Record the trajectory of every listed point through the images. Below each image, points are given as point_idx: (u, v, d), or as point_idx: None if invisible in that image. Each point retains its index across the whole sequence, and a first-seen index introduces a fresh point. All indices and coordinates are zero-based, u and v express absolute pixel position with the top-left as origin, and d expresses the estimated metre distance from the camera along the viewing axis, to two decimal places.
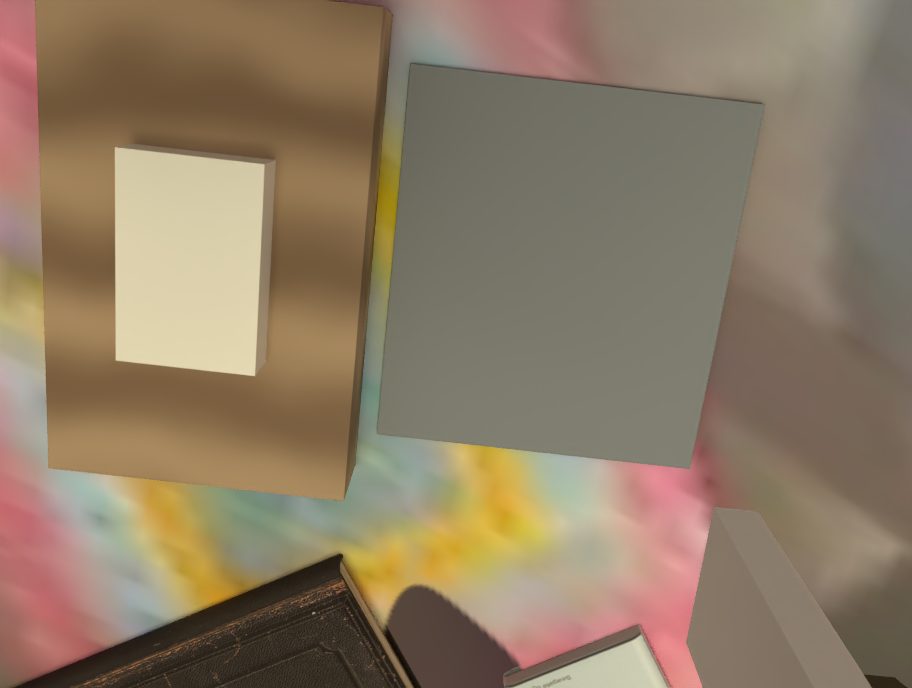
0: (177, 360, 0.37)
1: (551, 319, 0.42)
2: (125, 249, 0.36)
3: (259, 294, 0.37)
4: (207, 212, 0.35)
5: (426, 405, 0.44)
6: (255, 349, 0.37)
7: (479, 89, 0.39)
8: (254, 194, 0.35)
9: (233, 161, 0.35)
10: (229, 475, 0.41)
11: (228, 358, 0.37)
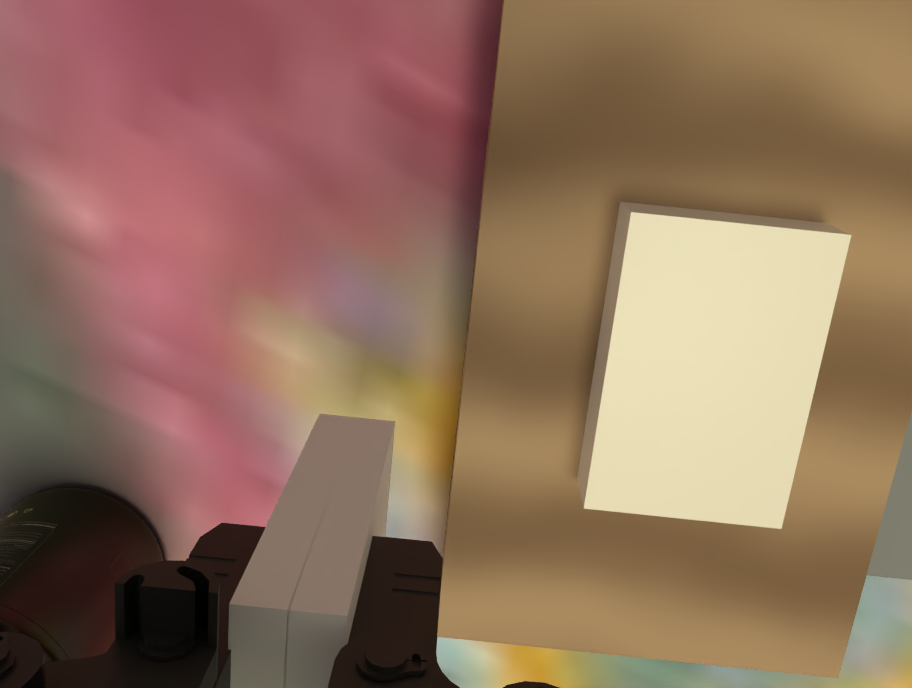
0: (672, 508, 0.26)
1: None
2: (622, 356, 0.25)
3: (804, 417, 0.25)
4: (753, 304, 0.24)
5: None
6: (788, 493, 0.26)
7: None
8: (828, 278, 0.24)
9: (804, 231, 0.24)
10: (684, 645, 0.30)
11: (747, 505, 0.26)
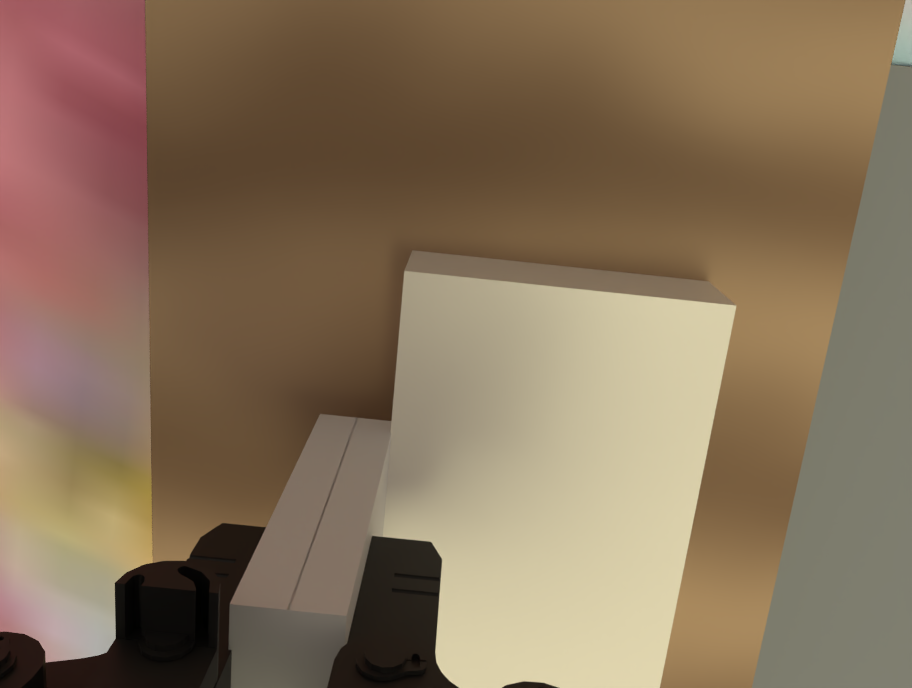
0: None
1: None
2: (408, 480, 0.17)
3: (680, 565, 0.17)
4: (595, 406, 0.16)
5: (817, 672, 0.24)
6: (661, 671, 0.18)
7: None
8: (704, 368, 0.16)
9: (666, 299, 0.16)
10: None
11: None
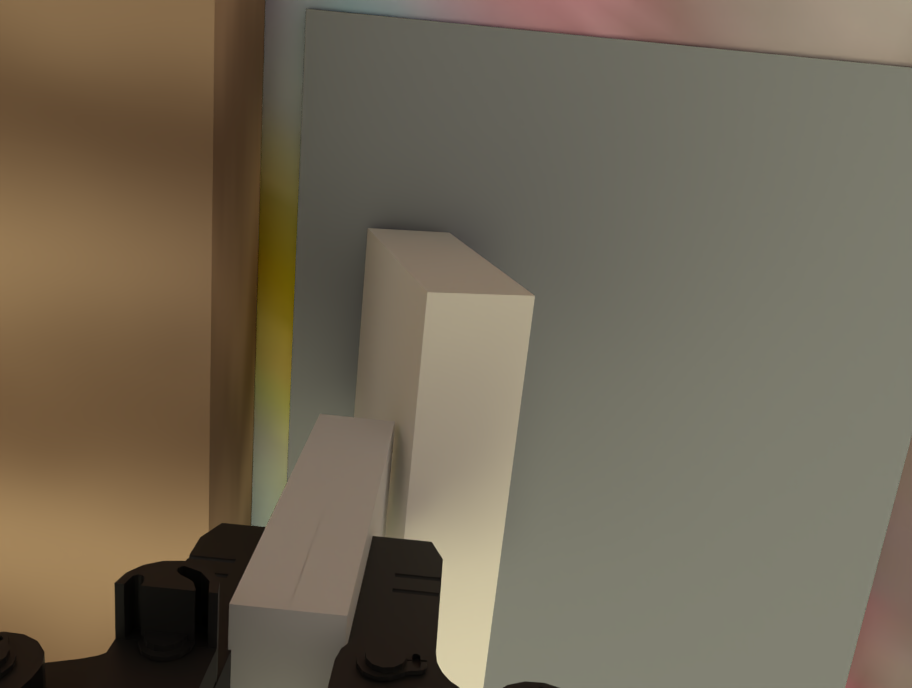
0: None
1: (587, 482, 0.23)
2: None
3: None
4: None
5: None
6: None
7: (444, 58, 0.20)
8: None
9: None
10: None
11: None
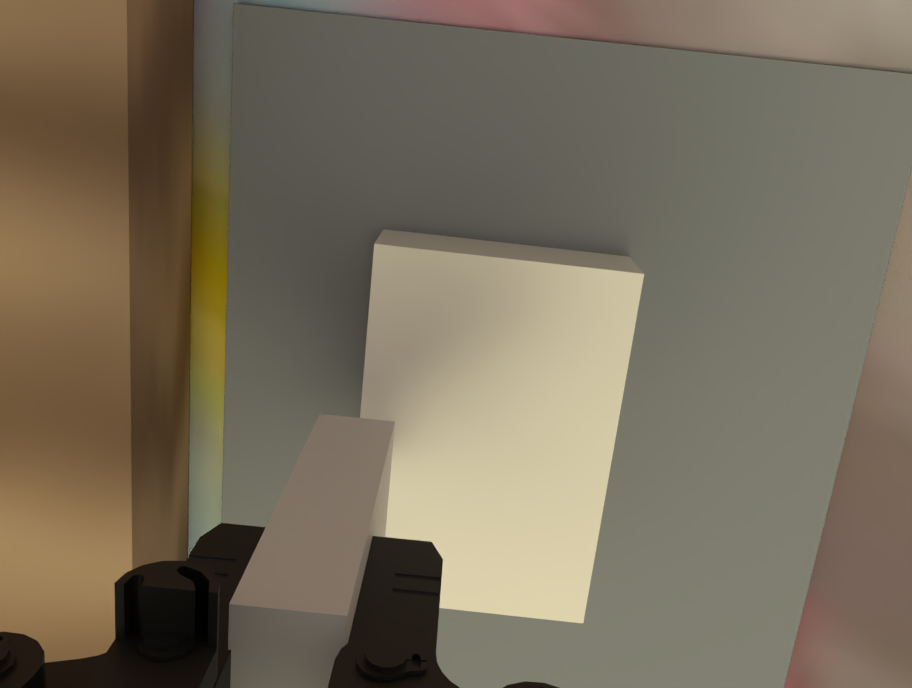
0: None
1: None
2: None
3: None
4: None
5: None
6: None
7: (373, 54, 0.20)
8: None
9: (434, 236, 0.21)
10: None
11: None
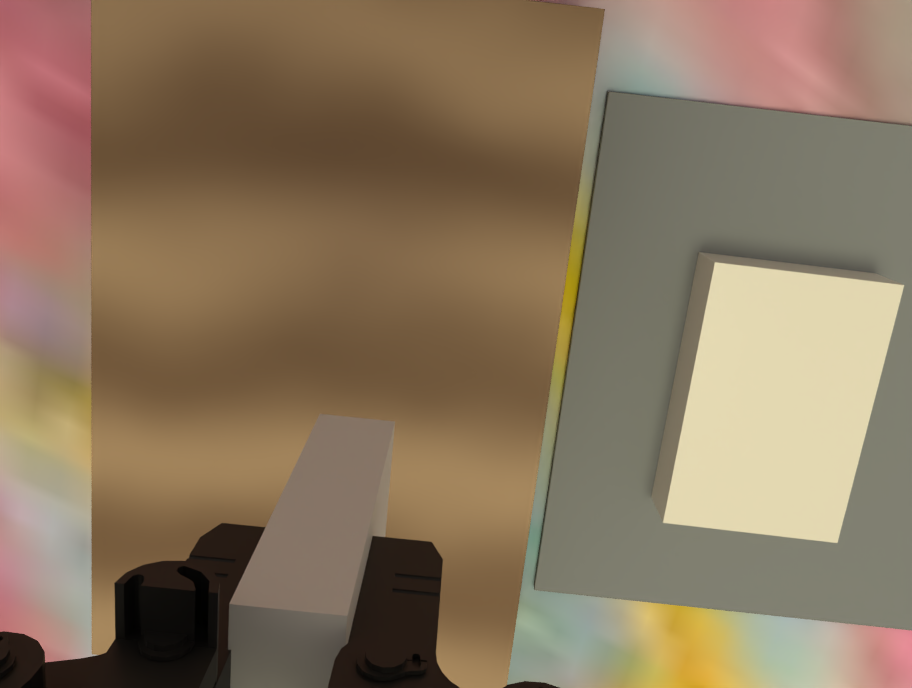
0: None
1: None
2: None
3: (670, 407, 0.30)
4: None
5: (604, 552, 0.32)
6: (658, 467, 0.31)
7: (704, 127, 0.28)
8: None
9: (735, 257, 0.29)
10: None
11: None
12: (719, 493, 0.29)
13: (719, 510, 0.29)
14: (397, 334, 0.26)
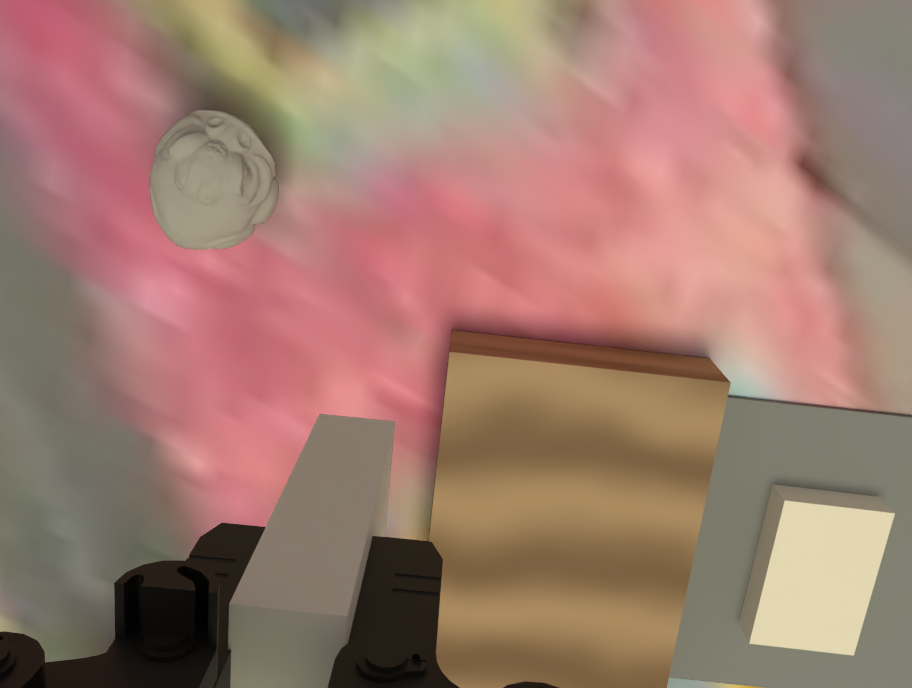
0: None
1: None
2: None
3: (752, 571, 0.50)
4: None
5: (708, 655, 0.52)
6: (743, 605, 0.51)
7: (778, 416, 0.48)
8: None
9: (794, 487, 0.49)
10: None
11: None
12: (783, 627, 0.49)
13: (783, 637, 0.49)
14: (604, 547, 0.46)
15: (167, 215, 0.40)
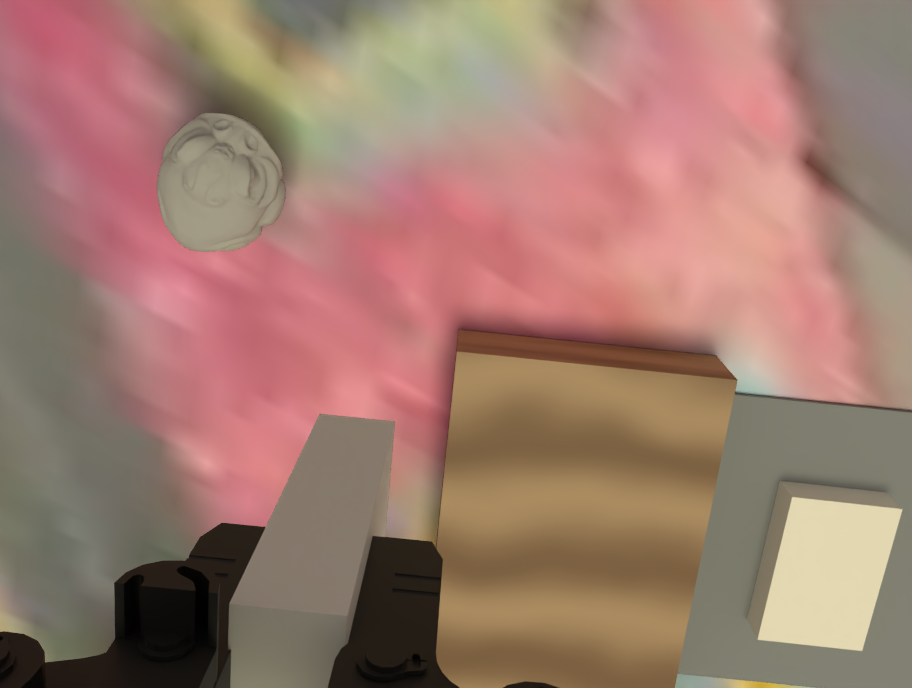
0: None
1: None
2: None
3: (760, 568, 0.50)
4: None
5: (717, 651, 0.52)
6: (751, 601, 0.51)
7: (785, 413, 0.48)
8: None
9: (802, 483, 0.49)
10: None
11: None
12: (791, 623, 0.49)
13: (791, 632, 0.49)
14: (612, 544, 0.46)
15: (175, 218, 0.40)
